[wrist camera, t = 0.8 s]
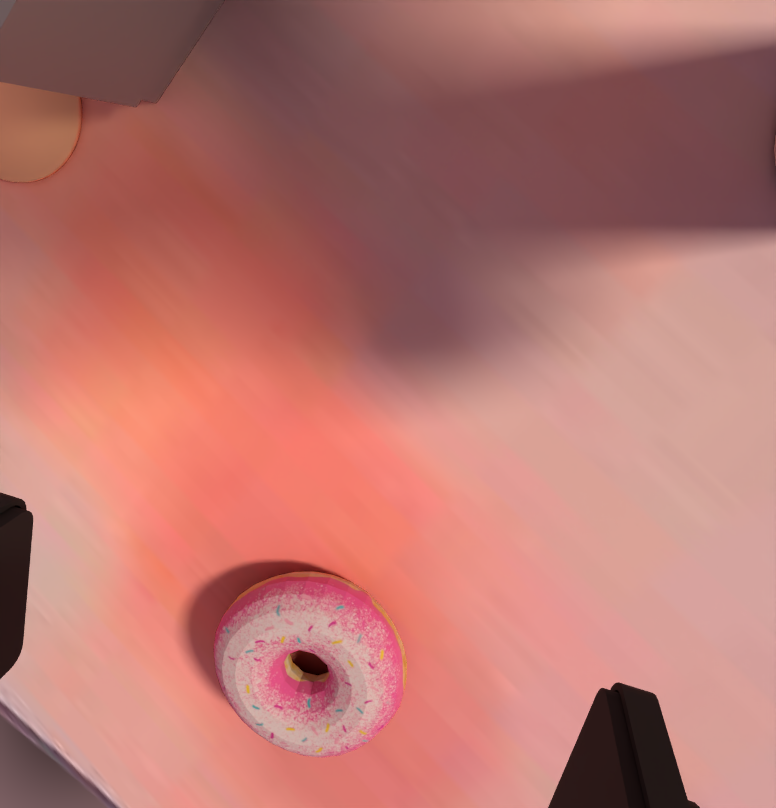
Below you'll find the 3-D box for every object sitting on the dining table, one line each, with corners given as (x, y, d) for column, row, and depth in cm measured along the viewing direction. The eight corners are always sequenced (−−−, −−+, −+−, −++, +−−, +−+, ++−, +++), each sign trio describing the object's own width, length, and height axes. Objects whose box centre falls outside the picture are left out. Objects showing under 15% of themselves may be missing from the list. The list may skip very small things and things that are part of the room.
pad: (-13, -17, 40) (-18, -19, 40) (109, 94, 41) (105, 93, 41) (-81, 111, 43) (-86, 111, 43) (34, 213, 44) (30, 213, 44)
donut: (323, 521, 47) (302, 559, 43) (452, 659, 49) (446, 710, 44) (194, 622, 52) (163, 666, 47) (317, 746, 53) (298, 800, 49)
